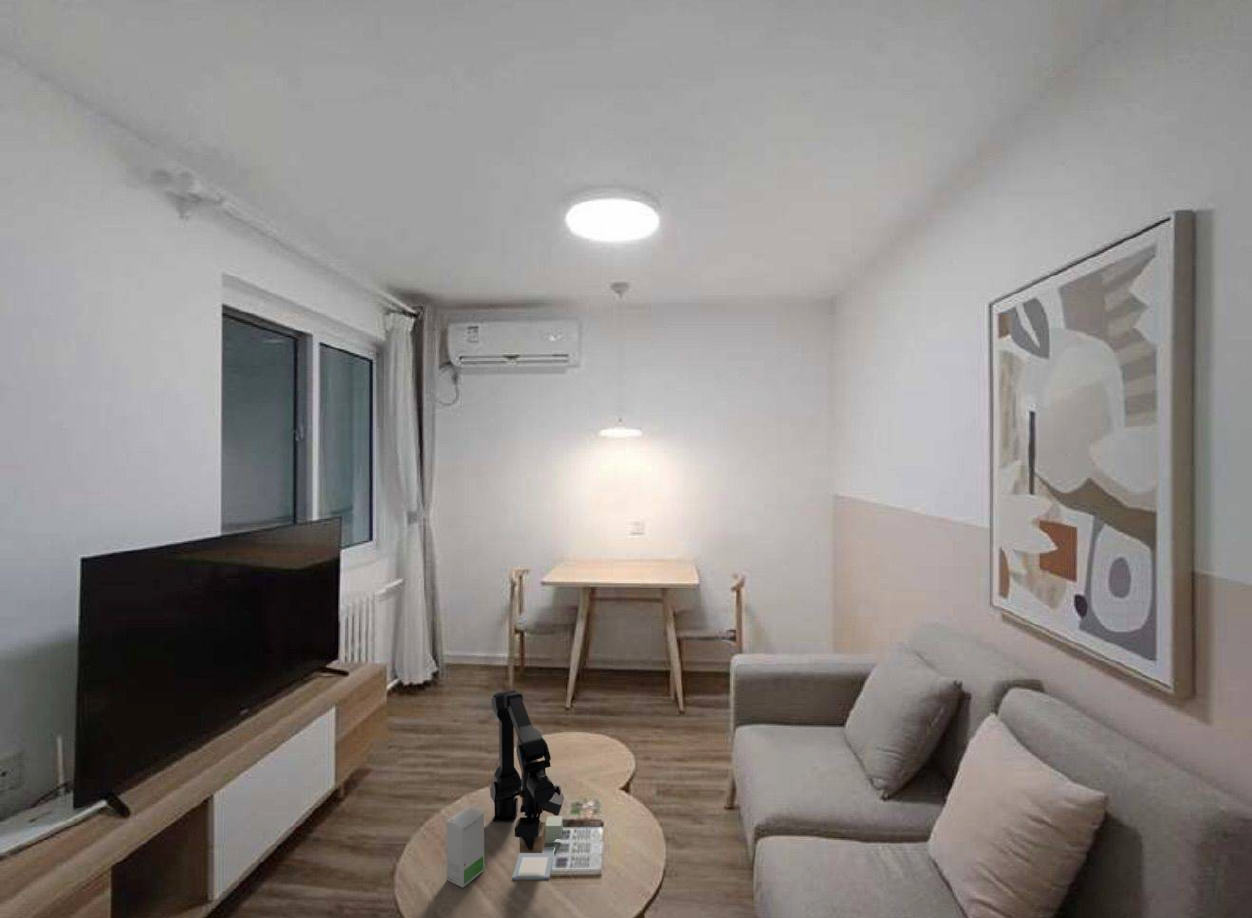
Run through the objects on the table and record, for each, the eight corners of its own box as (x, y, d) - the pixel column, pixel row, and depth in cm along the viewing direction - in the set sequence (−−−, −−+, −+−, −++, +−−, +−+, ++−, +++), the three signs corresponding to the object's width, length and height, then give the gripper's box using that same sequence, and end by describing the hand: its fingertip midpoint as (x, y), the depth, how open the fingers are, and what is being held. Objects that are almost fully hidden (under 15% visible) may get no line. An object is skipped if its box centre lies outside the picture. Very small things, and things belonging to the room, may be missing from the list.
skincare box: (462, 889, 148) (461, 828, 148) (444, 879, 151) (444, 821, 151) (485, 869, 155) (485, 812, 155) (469, 861, 158) (468, 804, 158)
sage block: (545, 843, 165) (545, 825, 165) (547, 833, 170) (547, 816, 170) (561, 843, 165) (560, 825, 165) (563, 832, 170) (562, 816, 170)
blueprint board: (512, 879, 151) (511, 876, 151) (520, 849, 163) (520, 846, 163) (549, 879, 151) (549, 876, 151) (555, 848, 163) (555, 846, 163)
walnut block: (519, 852, 152) (519, 836, 152) (524, 838, 158) (524, 822, 158) (541, 853, 152) (541, 836, 152) (545, 838, 158) (545, 822, 158)
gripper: (556, 804, 146) (557, 865, 145) (565, 766, 164) (566, 820, 164) (513, 804, 146) (514, 866, 146) (527, 766, 164) (527, 820, 164)
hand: (532, 841), depth 155 cm, fingers closed on walnut block, 6 cm apart
